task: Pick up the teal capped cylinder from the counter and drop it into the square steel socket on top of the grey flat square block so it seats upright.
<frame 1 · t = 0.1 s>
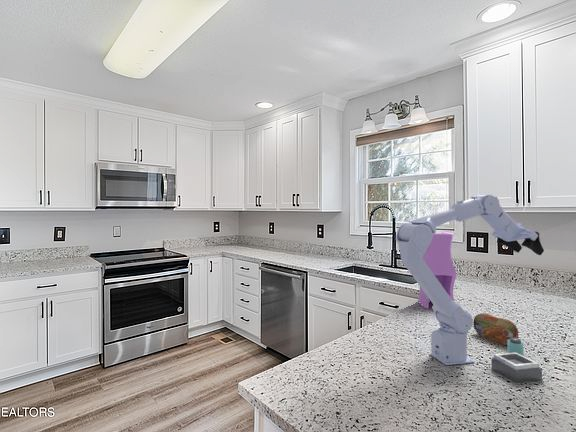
hand: (530, 251, 104), 32 cm above the worktop, tool tilted 50°, fingers open, 7 cm apart
grey flat square block: (515, 374, 89), on the worktop
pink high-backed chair: (435, 305, 157), on the worktop
tin: (495, 340, 113), on the worktop
teal capped cylinder: (515, 359, 98), on the worktop
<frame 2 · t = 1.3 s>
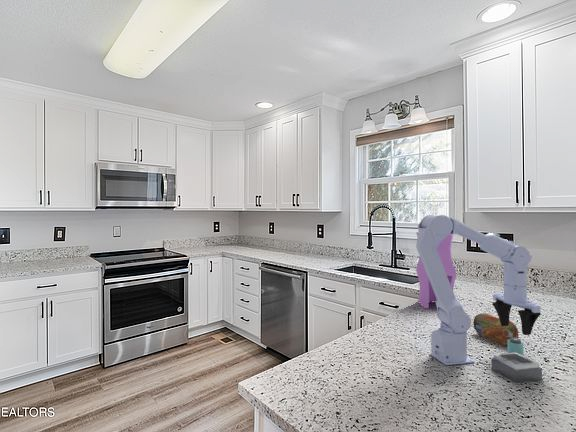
hand: (515, 329, 98), 9 cm above the worktop, tool pointing down, fingers open, 7 cm apart
nothing on the worktop moved.
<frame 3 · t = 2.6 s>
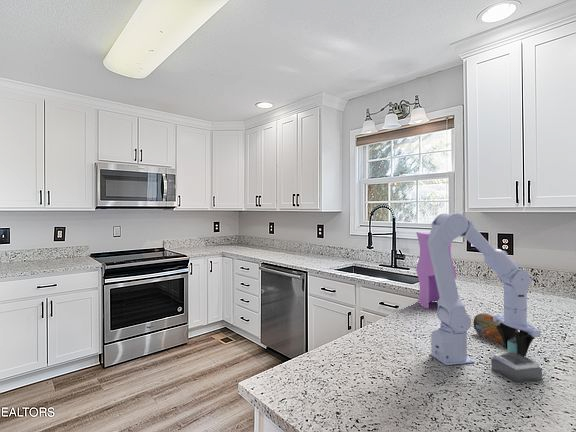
hand: (515, 352, 98), 2 cm above the worktop, tool pointing down, fingers closed on teal capped cylinder, 4 cm apart
teal capped cylinder: (515, 359, 98), on the worktop, touching gripper
everything else where it was.
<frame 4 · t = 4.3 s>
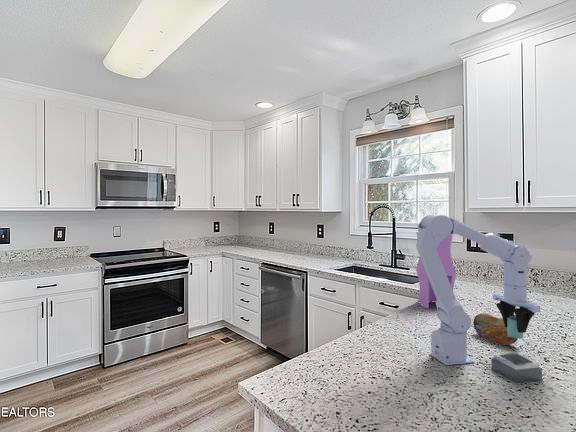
hand: (515, 329, 98), 9 cm above the worktop, tool pointing down, fingers closed on teal capped cylinder, 4 cm apart
teal capped cylinder: (515, 336, 98), point 7 cm above the worktop, touching gripper
everything else where it was.
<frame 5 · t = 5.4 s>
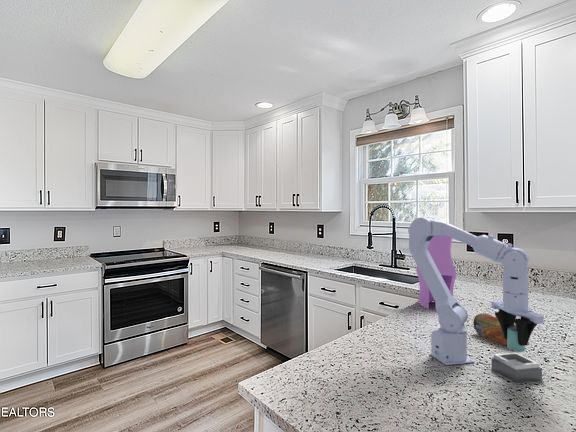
hand: (515, 341, 89), 9 cm above the worktop, tool pointing down, fingers closed on teal capped cylinder, 4 cm apart
teal capped cylinder: (516, 348, 89), point 7 cm above the worktop, touching gripper
everything else where it was.
when the fingers open (6 cm above the worktop, at t = 6.3 s): teal capped cylinder stays where it is, resting on grey flat square block.
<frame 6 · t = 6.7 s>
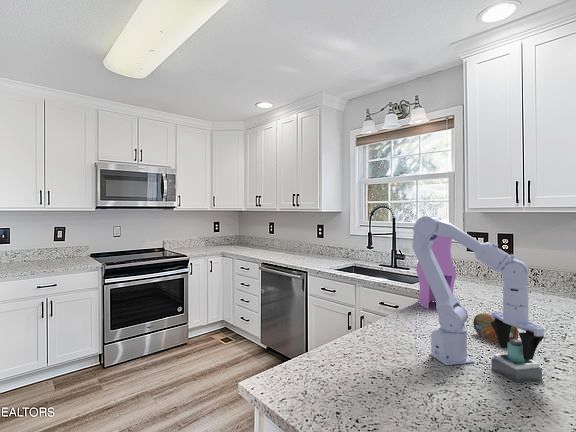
hand: (515, 353, 89), 6 cm above the worktop, tool pointing down, fingers open, 7 cm apart
teal capped cylinder: (516, 363, 89), point 3 cm above the worktop, touching grey flat square block
everything else where it was.
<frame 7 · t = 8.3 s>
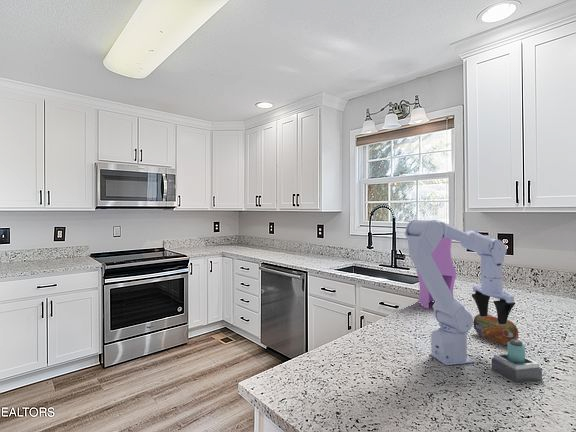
hand: (492, 319, 103), 10 cm above the worktop, tool pointing down, fingers open, 7 cm apart
nothing on the worktop moved.
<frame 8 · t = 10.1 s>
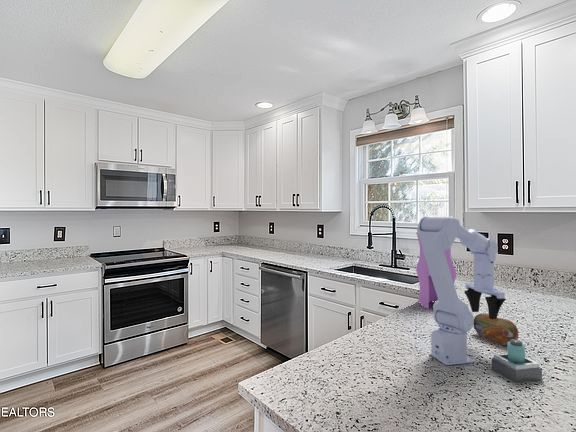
hand: (483, 315, 108), 10 cm above the worktop, tool pointing down, fingers open, 7 cm apart
nothing on the worktop moved.
at the end: teal capped cylinder 0.1 cm off-centre on the grey flat square block, point 3.0 cm above the grey flat square block's base; teal capped cylinder tilted 0°; the gripper is holding nothing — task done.
